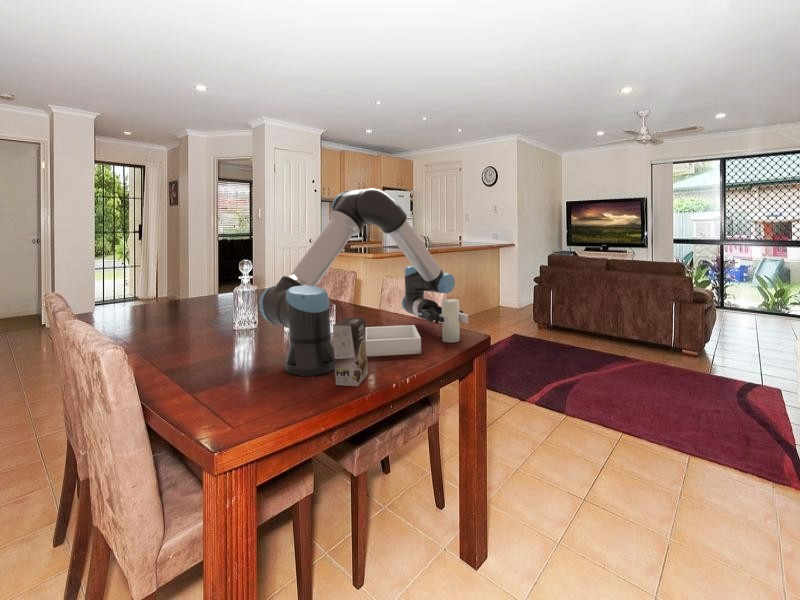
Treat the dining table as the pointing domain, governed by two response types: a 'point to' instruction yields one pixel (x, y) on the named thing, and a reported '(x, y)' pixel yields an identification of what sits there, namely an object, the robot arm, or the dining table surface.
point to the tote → (392, 340)
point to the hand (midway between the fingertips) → (458, 320)
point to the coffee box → (350, 351)
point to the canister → (451, 310)
